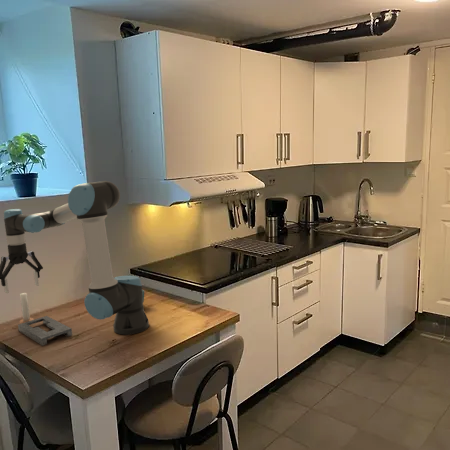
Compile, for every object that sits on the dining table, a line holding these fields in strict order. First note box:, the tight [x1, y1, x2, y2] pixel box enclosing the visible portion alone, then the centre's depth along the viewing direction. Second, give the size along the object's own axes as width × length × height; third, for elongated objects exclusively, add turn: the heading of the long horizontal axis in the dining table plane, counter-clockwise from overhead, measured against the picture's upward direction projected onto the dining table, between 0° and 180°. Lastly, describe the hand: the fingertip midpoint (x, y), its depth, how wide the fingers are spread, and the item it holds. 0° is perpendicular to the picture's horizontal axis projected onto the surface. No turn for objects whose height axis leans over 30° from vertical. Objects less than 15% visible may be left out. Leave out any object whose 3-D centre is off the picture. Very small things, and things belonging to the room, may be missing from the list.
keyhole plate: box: [17, 315, 73, 347], centre depth 194 cm, size 24×13×3 cm, turn 46°
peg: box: [19, 292, 35, 324], centre depth 206 cm, size 6×6×14 cm
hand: (22, 288), depth 205 cm, fingers open, 13 cm apart
